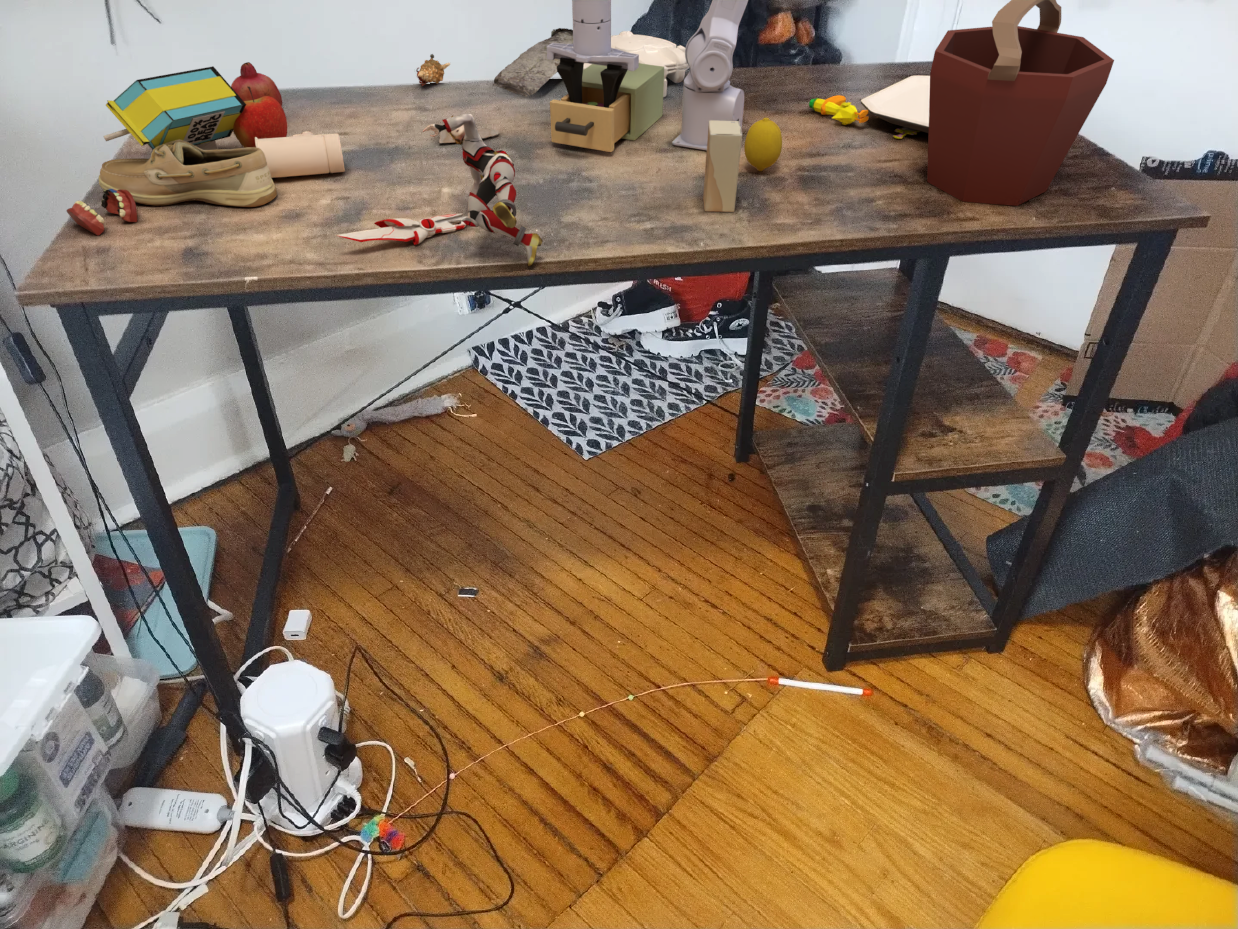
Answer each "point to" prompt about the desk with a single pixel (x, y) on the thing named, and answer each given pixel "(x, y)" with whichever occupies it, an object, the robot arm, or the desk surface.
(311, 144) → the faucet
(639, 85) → the cabinet
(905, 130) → the decorative knife
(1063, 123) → the bucket
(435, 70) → the figurine
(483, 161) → the anime character
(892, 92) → the plate
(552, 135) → the drawer
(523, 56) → the stone
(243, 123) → the apple
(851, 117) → the toy figure
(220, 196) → the boat shoe
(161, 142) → the carton
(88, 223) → the dental model
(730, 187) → the box
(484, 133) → the arrowhead
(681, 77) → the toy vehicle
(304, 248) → the desk surface
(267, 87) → the fruit
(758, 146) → the lemon
